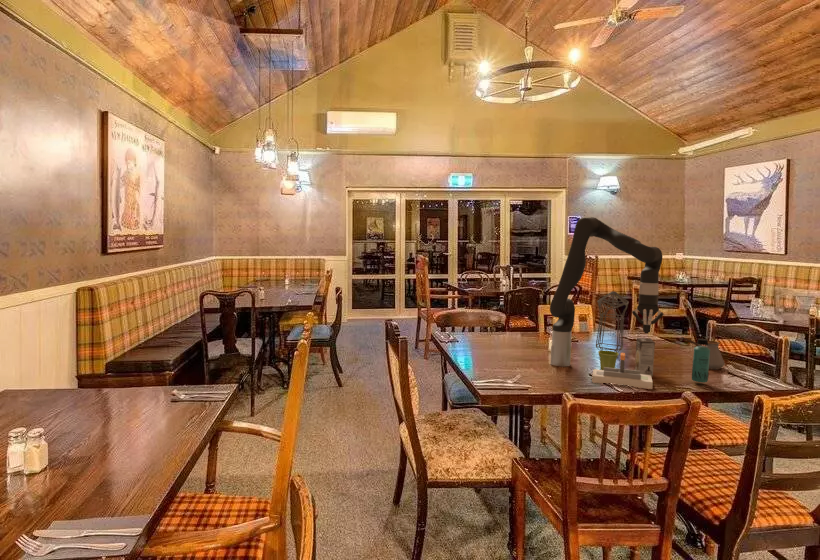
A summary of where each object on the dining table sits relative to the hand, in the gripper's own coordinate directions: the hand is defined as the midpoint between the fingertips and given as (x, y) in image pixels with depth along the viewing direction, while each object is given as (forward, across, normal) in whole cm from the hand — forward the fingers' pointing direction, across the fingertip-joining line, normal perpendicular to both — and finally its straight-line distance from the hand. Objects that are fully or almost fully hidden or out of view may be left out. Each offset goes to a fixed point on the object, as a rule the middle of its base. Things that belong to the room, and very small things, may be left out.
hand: (646, 333), depth 219 cm
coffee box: (+23, +1, +21) cm, 31 cm away
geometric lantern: (+23, -14, +55) cm, 61 cm away
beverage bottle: (+23, +23, +12) cm, 35 cm away
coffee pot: (+23, +28, +46) cm, 59 cm away
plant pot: (+23, -15, +19) cm, 33 cm away
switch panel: (+23, -9, 0) cm, 25 cm away
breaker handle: (+20, -9, 0) cm, 22 cm away
